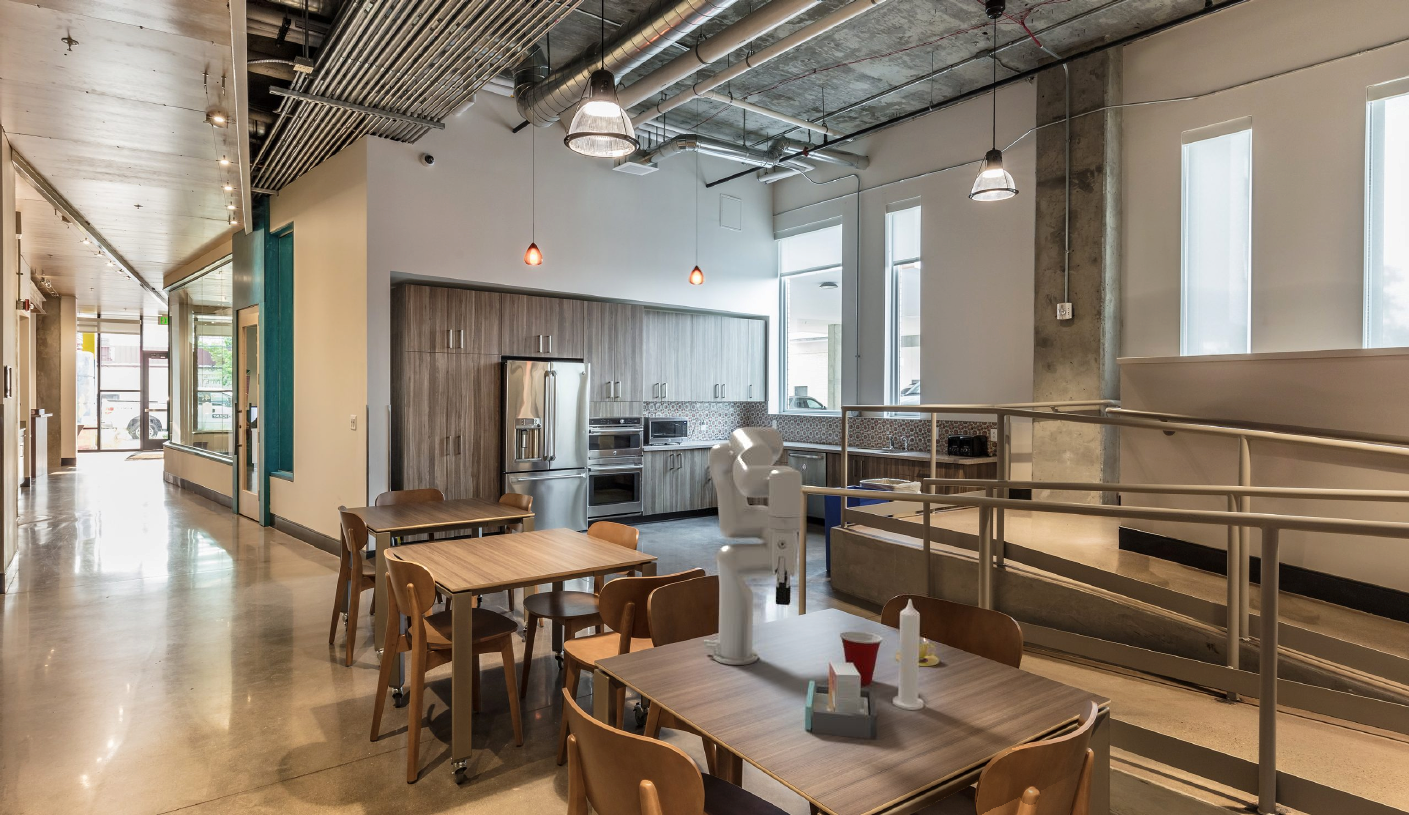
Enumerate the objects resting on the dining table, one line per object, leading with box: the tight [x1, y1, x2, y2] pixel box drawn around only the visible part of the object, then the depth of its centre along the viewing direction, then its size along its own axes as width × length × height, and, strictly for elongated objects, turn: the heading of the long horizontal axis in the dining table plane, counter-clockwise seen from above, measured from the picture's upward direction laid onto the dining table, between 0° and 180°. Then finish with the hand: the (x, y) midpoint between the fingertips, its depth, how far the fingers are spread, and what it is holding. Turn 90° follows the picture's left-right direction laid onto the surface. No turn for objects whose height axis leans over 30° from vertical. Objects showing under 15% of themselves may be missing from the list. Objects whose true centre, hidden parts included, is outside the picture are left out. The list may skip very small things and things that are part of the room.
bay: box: [811, 683, 878, 740], centre depth 163 cm, size 13×16×4 cm
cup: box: [894, 637, 940, 667], centre depth 204 cm, size 12×12×5 cm
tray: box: [804, 680, 869, 731], centre depth 163 cm, size 13×15×5 cm
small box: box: [828, 661, 861, 714], centre depth 163 cm, size 8×6×10 cm
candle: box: [892, 598, 925, 711], centre depth 172 cm, size 7×7×25 cm
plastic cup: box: [839, 630, 884, 687], centre depth 186 cm, size 11×11×12 cm
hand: (782, 603), depth 166 cm, fingers closed
